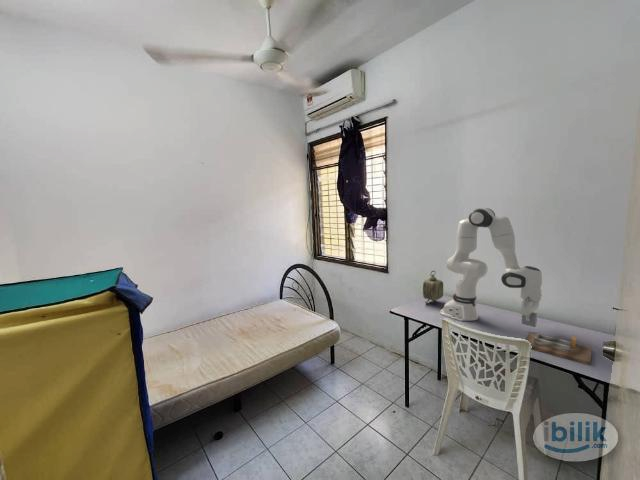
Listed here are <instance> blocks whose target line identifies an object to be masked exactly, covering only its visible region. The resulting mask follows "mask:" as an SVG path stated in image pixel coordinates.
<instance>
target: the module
mask: <svg viewBox="0 0 640 480" xmlns="http://www.w3.org/2000/svg"><path fill="white" fill-rule="evenodd" d="M521 317H522V318H521V324H522V325H525V326H529V327H534V328H536V327H537V321H538V313H536V312H534V313H532V314H530V321H527V320H526V316H524V315H521Z"/></svg>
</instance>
